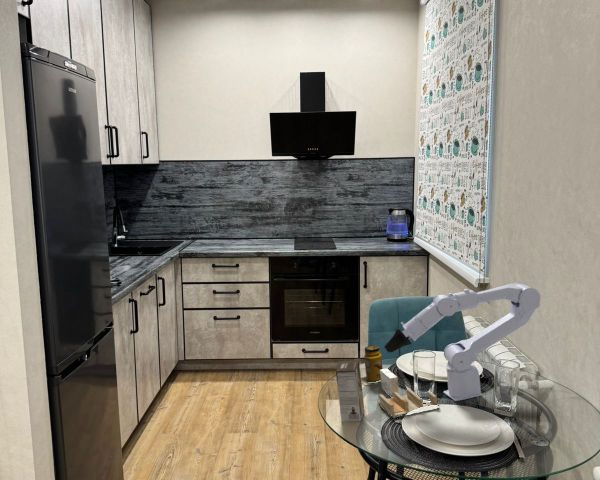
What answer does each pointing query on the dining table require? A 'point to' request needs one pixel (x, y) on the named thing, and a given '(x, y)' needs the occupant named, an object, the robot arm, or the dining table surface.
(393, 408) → the rack
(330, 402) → the dining table surface
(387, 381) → the panel
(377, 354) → the condiment
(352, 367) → the coffee box
